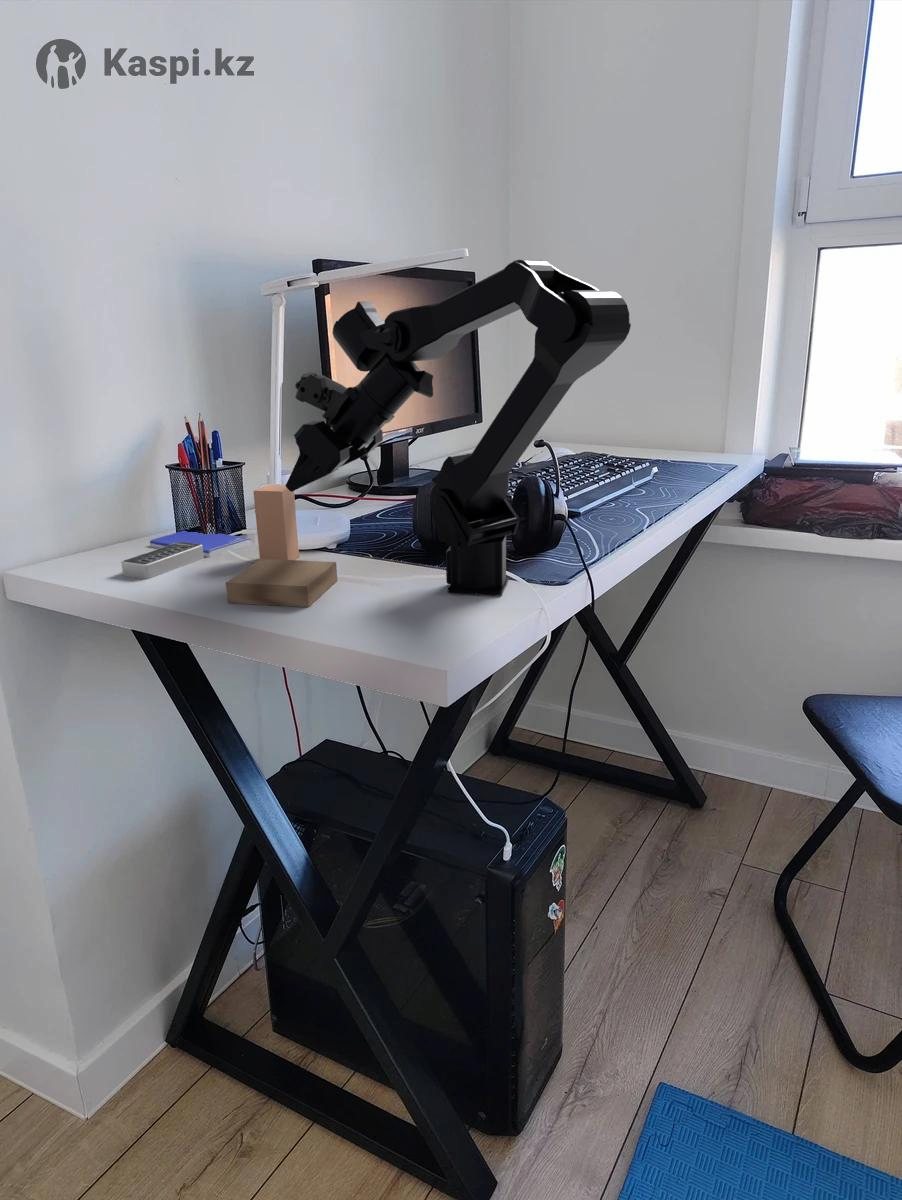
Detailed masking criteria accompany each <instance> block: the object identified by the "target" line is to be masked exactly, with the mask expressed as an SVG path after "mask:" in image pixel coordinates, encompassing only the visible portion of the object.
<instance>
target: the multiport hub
mask: <svg viewBox="0 0 902 1200" xmlns="http://www.w3.org/2000/svg"><path fill="white" fill-rule="evenodd" d="M204 558H205V556H204V554H203V546H202V545H201V544H194V543H186V542H177V543H174V544H171V545H168V546H165V547H162V548H156V549H154V550H150V551H148V552H145V553H142V554H139V555H136V556H133V557H130V558H127V559H124V560H122V561H121V569H122V574H123V575H122V576H123V577H126V578H127V577H128V578H133V579H140V580H150V579H153V578H156V577H157V576H161V575H163V574H166V573H168V572H172V571H174V570H177V569H179V568H182V567H185V566H187V565H190V564H193V563H195V562H198V561H201V560H203V559H204Z"/></svg>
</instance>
